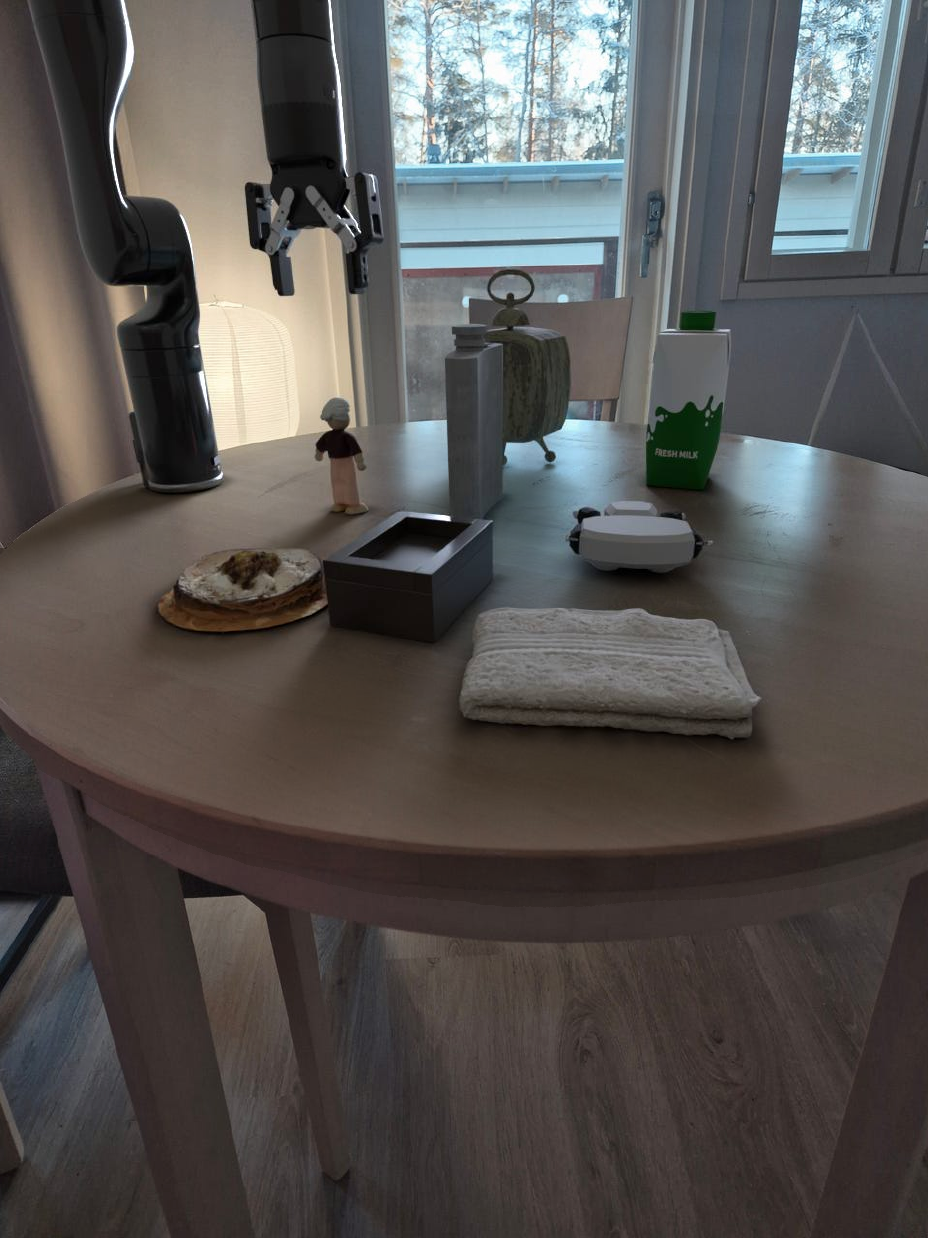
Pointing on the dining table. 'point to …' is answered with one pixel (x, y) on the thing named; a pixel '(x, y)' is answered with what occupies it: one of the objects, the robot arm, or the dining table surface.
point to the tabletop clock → (530, 372)
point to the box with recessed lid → (409, 575)
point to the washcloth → (606, 672)
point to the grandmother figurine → (341, 457)
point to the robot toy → (634, 537)
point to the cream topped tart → (246, 590)
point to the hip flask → (474, 422)
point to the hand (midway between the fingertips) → (321, 294)
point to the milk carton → (687, 401)
